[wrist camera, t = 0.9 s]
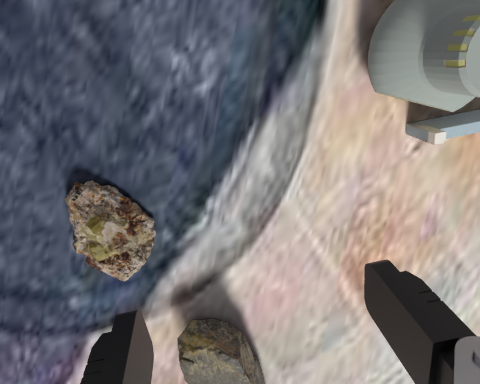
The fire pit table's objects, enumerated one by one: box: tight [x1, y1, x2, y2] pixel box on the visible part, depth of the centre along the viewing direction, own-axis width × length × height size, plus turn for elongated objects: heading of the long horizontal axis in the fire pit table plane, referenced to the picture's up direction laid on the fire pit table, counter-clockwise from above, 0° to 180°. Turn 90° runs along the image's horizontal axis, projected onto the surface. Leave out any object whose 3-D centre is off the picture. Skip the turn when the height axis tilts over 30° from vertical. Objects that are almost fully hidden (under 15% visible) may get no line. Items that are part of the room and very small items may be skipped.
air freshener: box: [368, 0, 480, 112], centre depth 26 cm, size 11×8×10 cm
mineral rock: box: [64, 180, 156, 281], centre depth 33 cm, size 11×4×8 cm
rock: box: [178, 319, 264, 384], centre depth 39 cm, size 17×7×10 cm
